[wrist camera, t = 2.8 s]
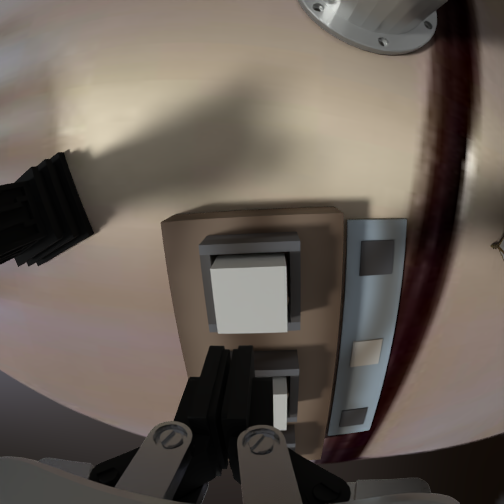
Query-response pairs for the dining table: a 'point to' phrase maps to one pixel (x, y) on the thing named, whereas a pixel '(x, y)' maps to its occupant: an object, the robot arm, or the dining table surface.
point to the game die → (500, 247)
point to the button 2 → (250, 293)
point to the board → (299, 307)
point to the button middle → (280, 402)
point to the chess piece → (41, 214)
